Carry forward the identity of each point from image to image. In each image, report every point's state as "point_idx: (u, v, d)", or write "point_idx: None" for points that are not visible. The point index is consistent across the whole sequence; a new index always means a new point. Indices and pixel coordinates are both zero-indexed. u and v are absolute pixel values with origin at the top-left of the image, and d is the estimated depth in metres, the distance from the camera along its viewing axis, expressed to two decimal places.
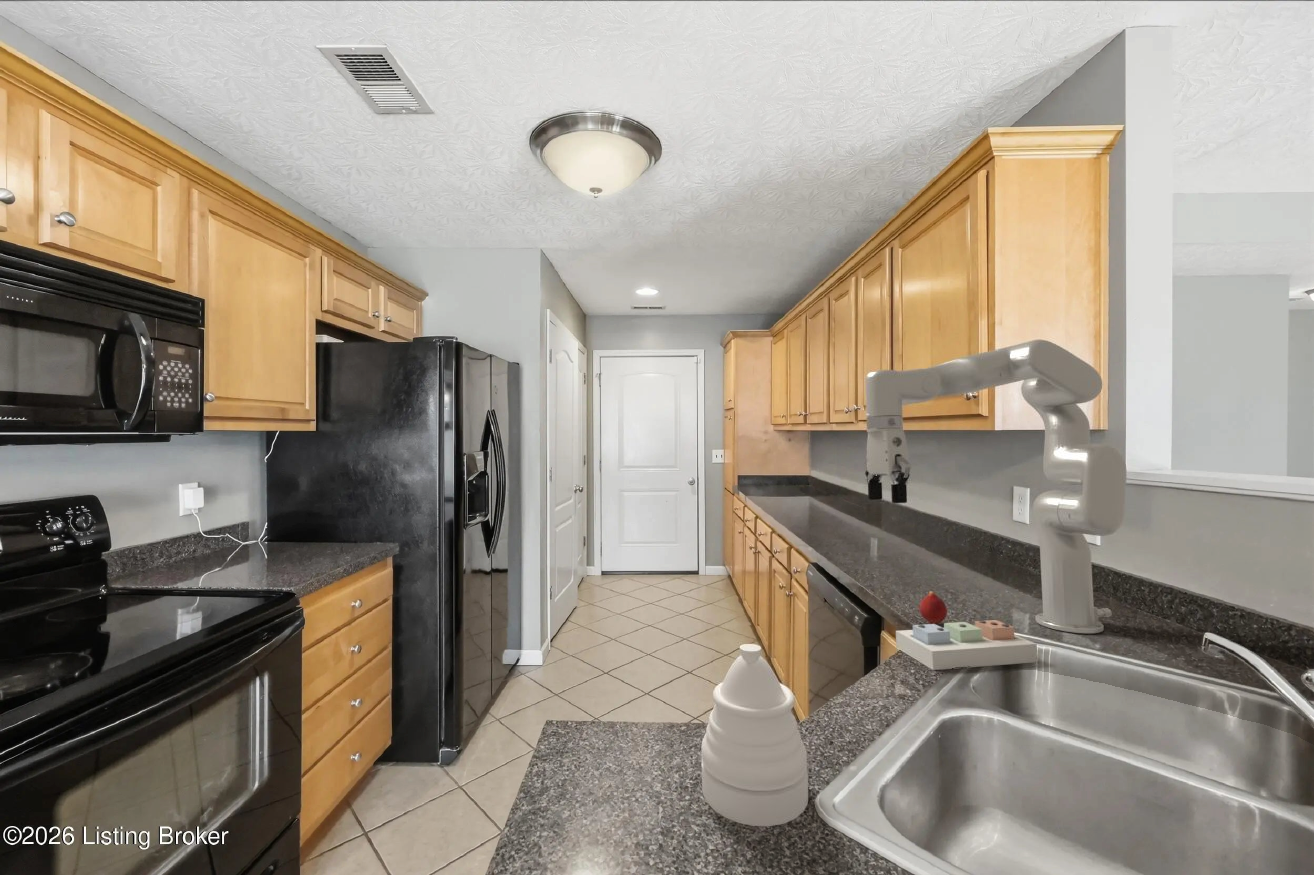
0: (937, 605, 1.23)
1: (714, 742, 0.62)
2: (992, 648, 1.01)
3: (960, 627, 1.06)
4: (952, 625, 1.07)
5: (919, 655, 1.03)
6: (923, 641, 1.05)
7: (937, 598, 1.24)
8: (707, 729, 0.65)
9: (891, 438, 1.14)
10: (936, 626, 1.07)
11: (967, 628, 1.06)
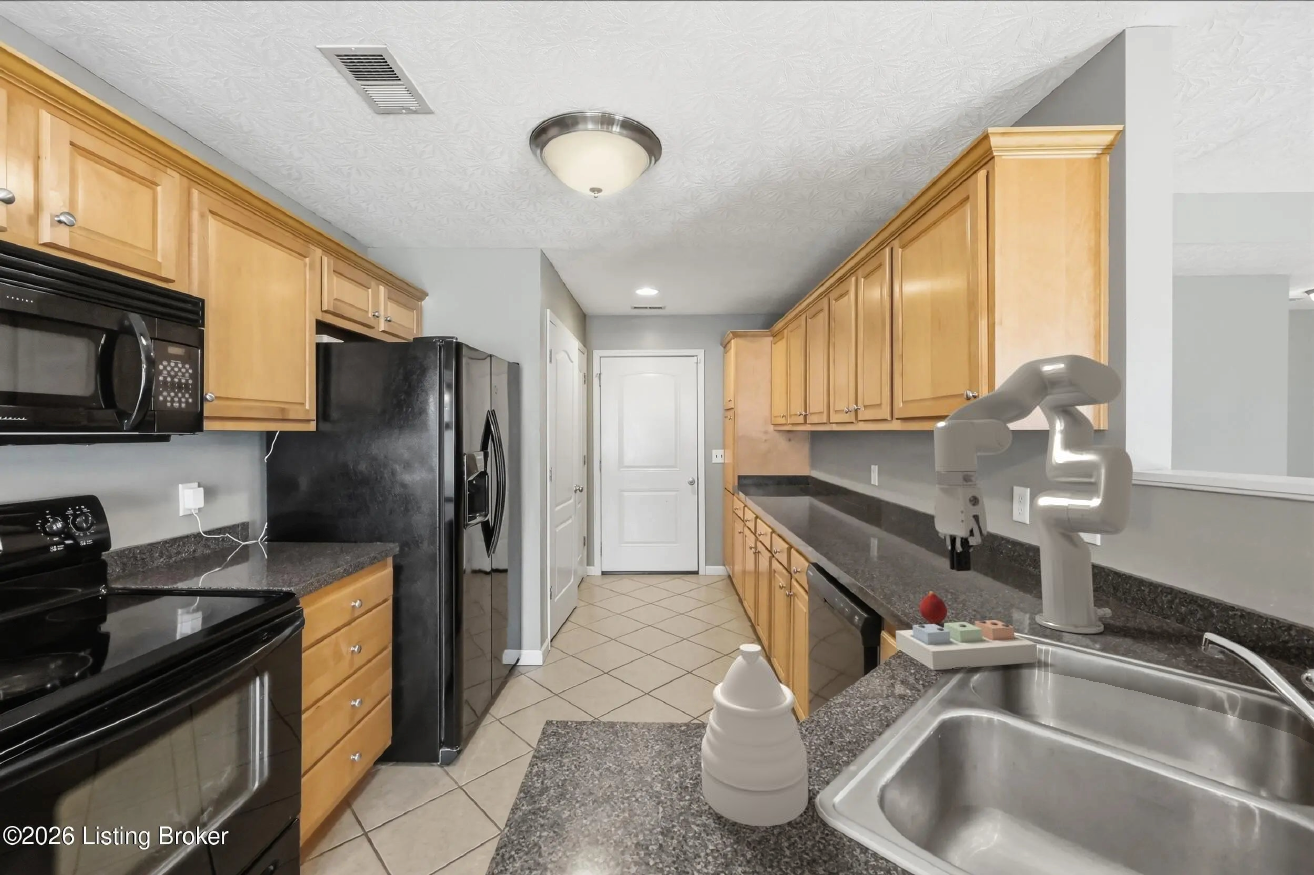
0: (937, 605, 1.23)
1: (714, 742, 0.62)
2: (992, 648, 1.01)
3: (960, 627, 1.06)
4: (952, 625, 1.07)
5: (919, 655, 1.03)
6: (923, 641, 1.05)
7: (937, 598, 1.24)
8: (707, 729, 0.65)
9: (967, 497, 1.03)
10: (936, 626, 1.07)
11: (967, 628, 1.06)
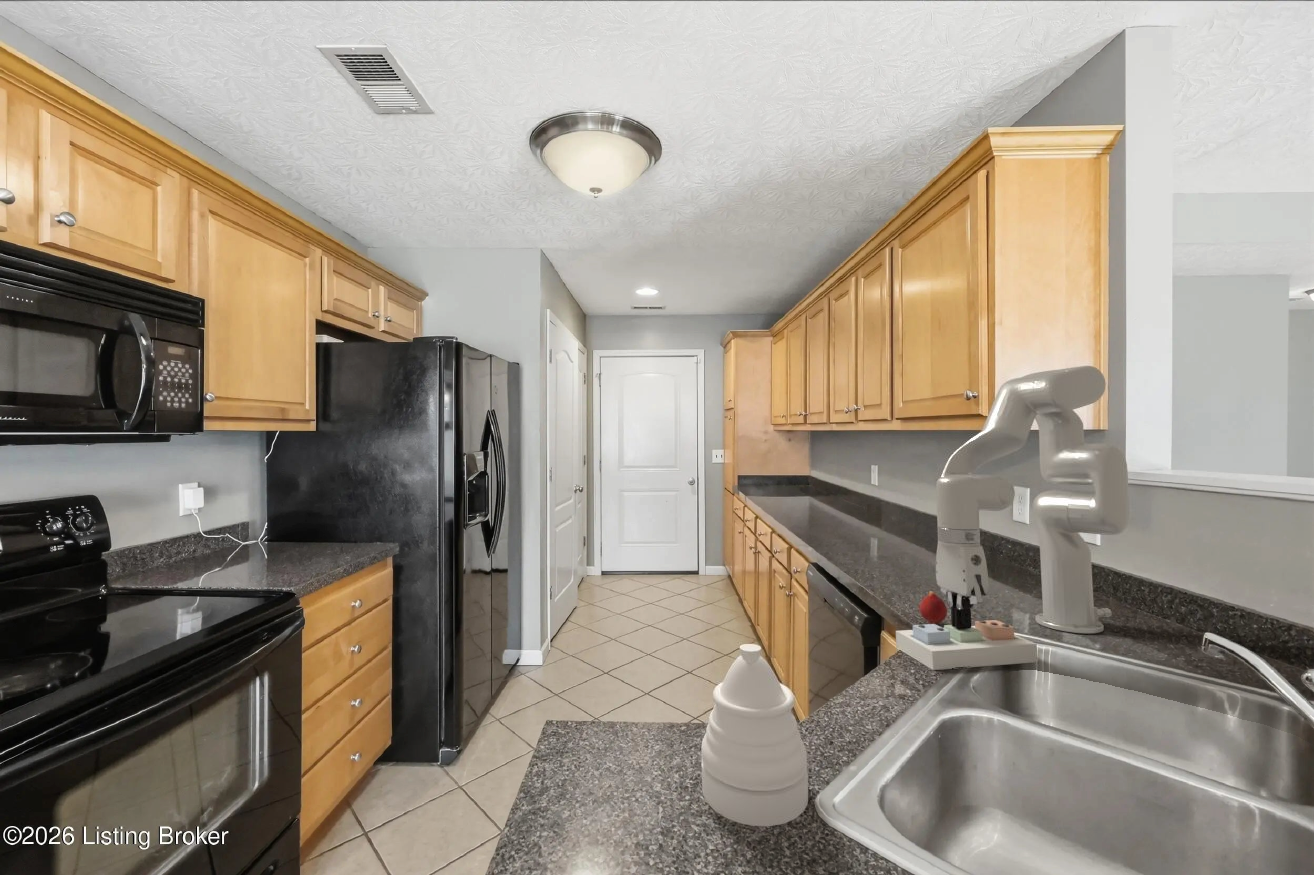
0: (937, 605, 1.23)
1: (714, 742, 0.62)
2: (992, 648, 1.01)
3: (960, 629, 1.06)
4: (952, 627, 1.07)
5: (919, 655, 1.03)
6: (923, 641, 1.05)
7: (937, 598, 1.24)
8: (707, 729, 0.65)
9: (969, 556, 1.03)
10: (936, 626, 1.07)
11: (967, 630, 1.06)
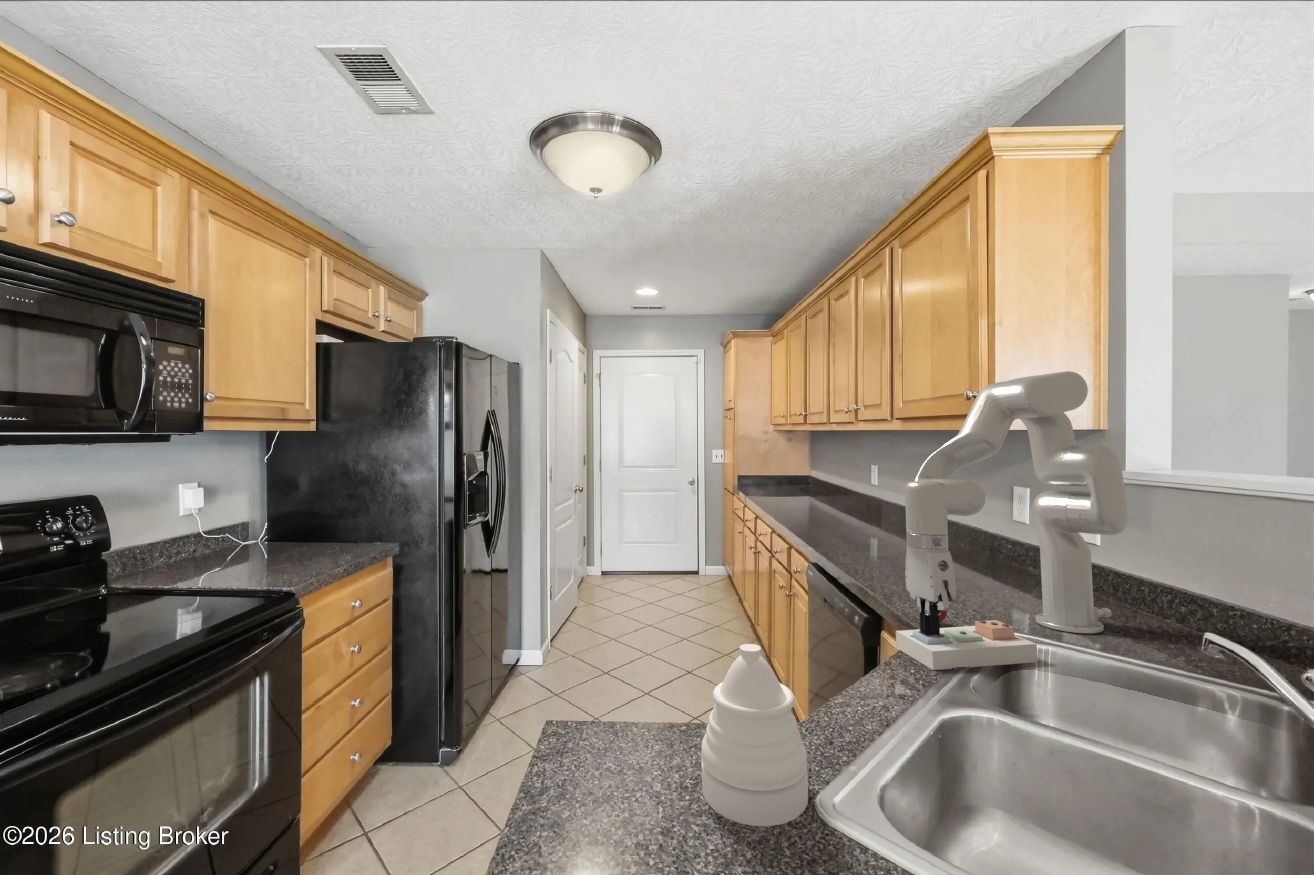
0: None
1: (714, 742, 0.62)
2: (992, 648, 1.01)
3: (960, 634, 1.06)
4: (952, 632, 1.07)
5: (919, 655, 1.03)
6: None
7: None
8: (707, 729, 0.65)
9: (936, 562, 1.02)
10: None
11: (967, 635, 1.06)
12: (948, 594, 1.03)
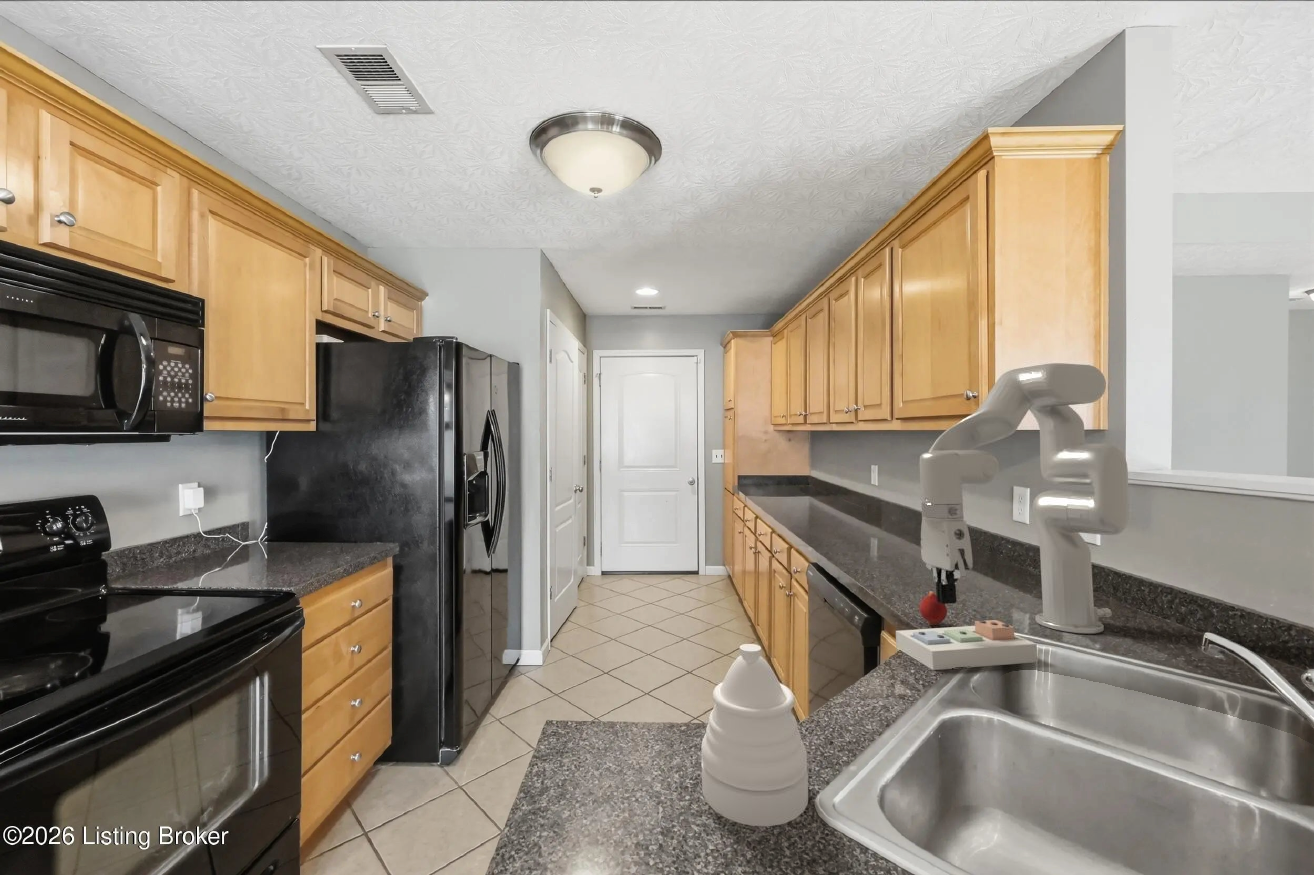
0: (937, 605, 1.23)
1: (714, 742, 0.62)
2: (992, 648, 1.01)
3: (960, 634, 1.06)
4: (952, 632, 1.07)
5: (919, 655, 1.03)
6: None
7: None
8: (707, 729, 0.65)
9: (952, 530, 1.03)
10: (936, 633, 1.07)
11: (967, 635, 1.06)
12: (964, 563, 1.04)
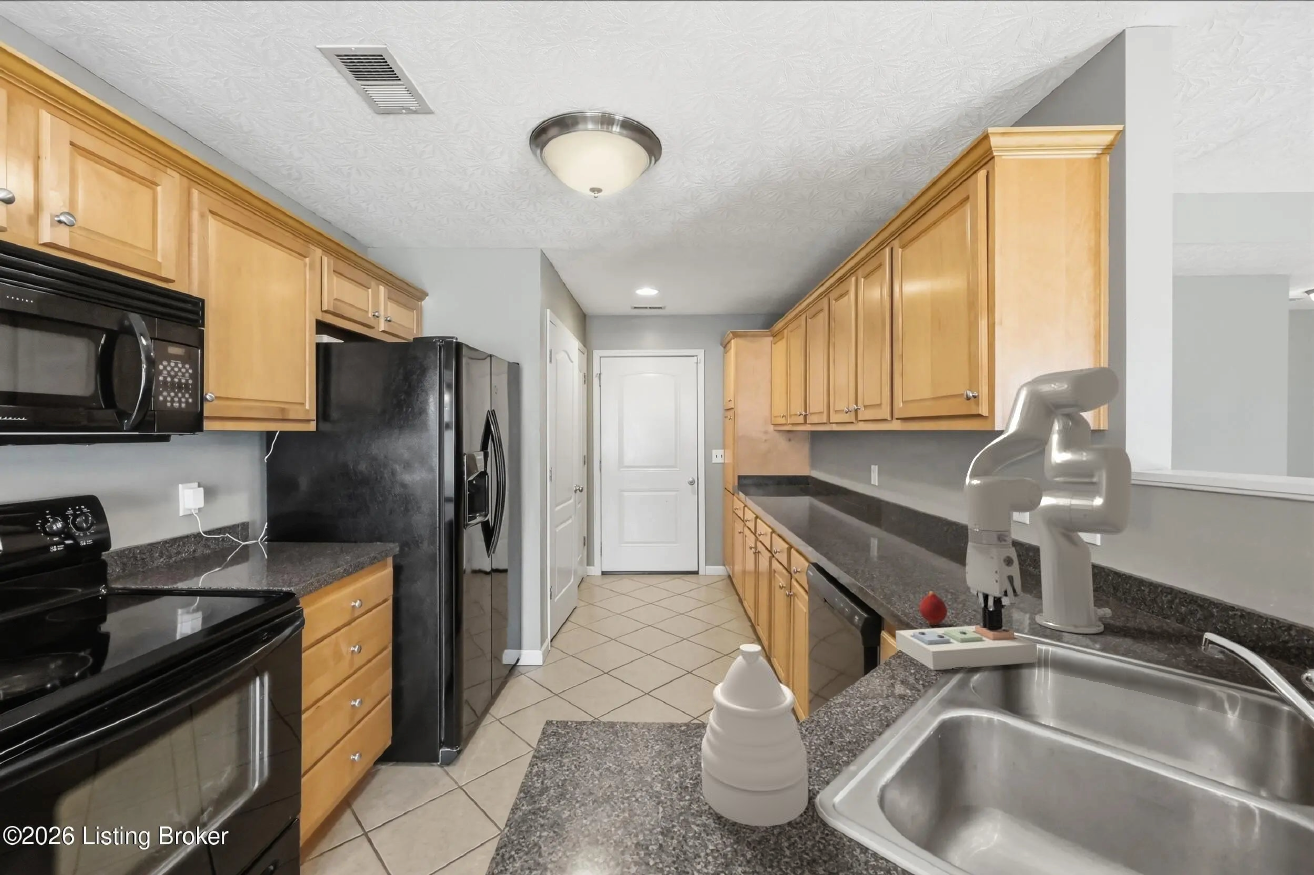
0: (937, 605, 1.23)
1: (714, 742, 0.62)
2: (992, 648, 1.01)
3: (960, 634, 1.06)
4: (952, 632, 1.07)
5: (919, 655, 1.03)
6: None
7: (937, 598, 1.24)
8: (707, 729, 0.65)
9: (1002, 557, 1.04)
10: (936, 633, 1.07)
11: (967, 635, 1.06)
12: (1012, 589, 1.05)
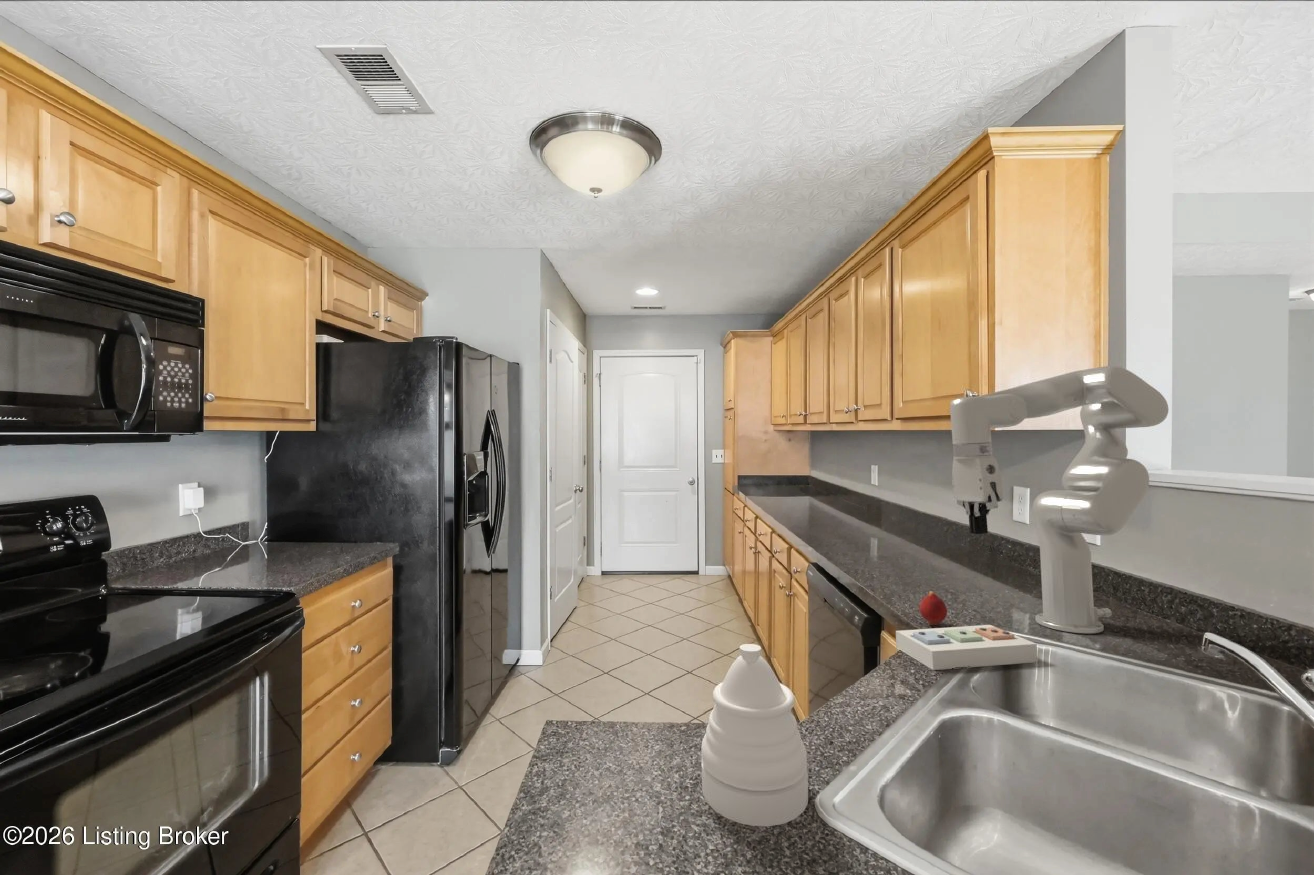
0: (937, 605, 1.23)
1: (714, 742, 0.62)
2: (992, 648, 1.01)
3: (960, 634, 1.06)
4: (952, 632, 1.07)
5: (919, 655, 1.03)
6: None
7: (937, 598, 1.24)
8: (707, 729, 0.65)
9: (985, 466, 1.14)
10: (936, 633, 1.07)
11: (967, 635, 1.06)
12: (995, 495, 1.15)
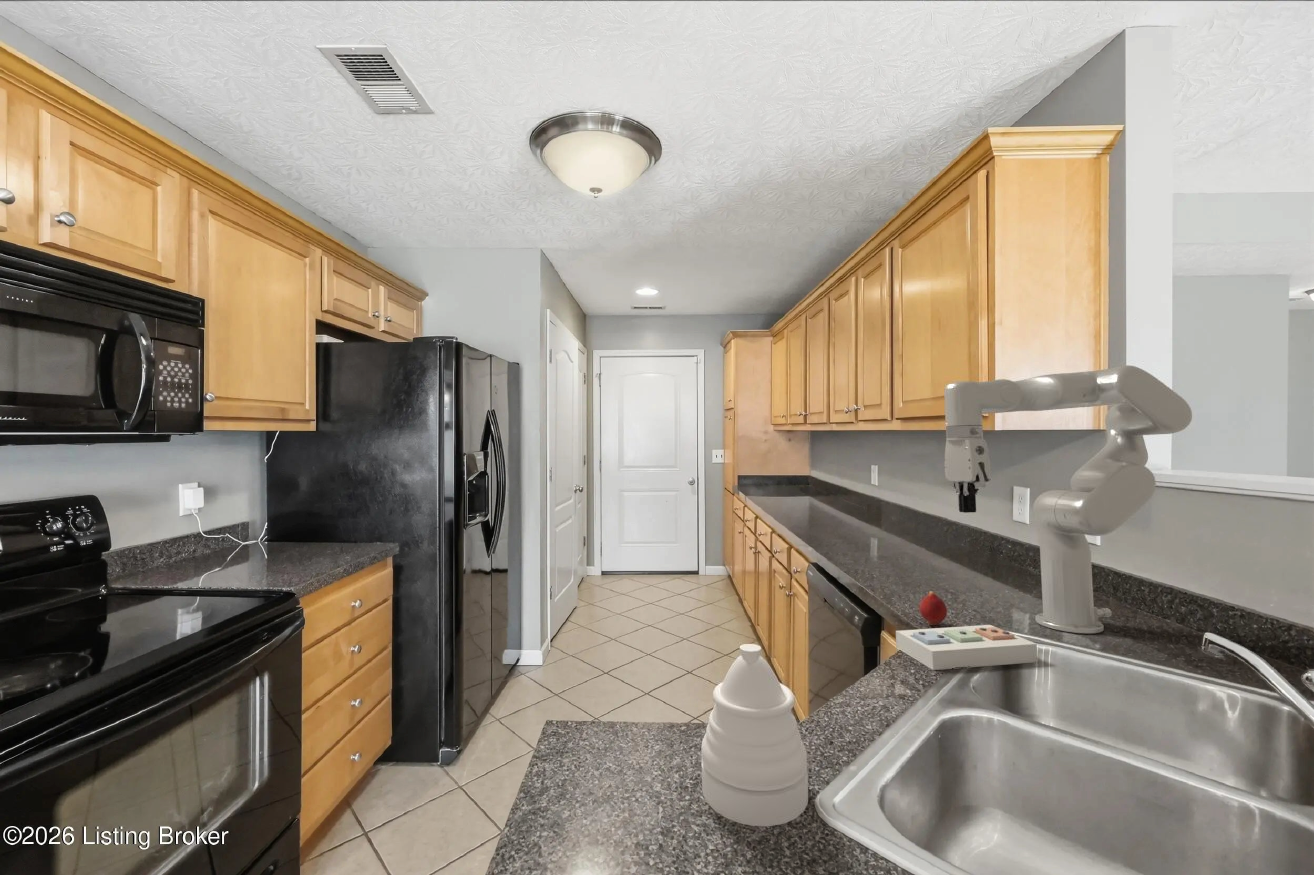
0: (937, 605, 1.23)
1: (714, 742, 0.62)
2: (992, 648, 1.01)
3: (960, 634, 1.06)
4: (952, 632, 1.07)
5: (919, 655, 1.03)
6: None
7: (937, 598, 1.24)
8: (707, 729, 0.65)
9: (974, 447, 1.19)
10: (936, 633, 1.07)
11: (967, 635, 1.06)
12: (984, 476, 1.21)
